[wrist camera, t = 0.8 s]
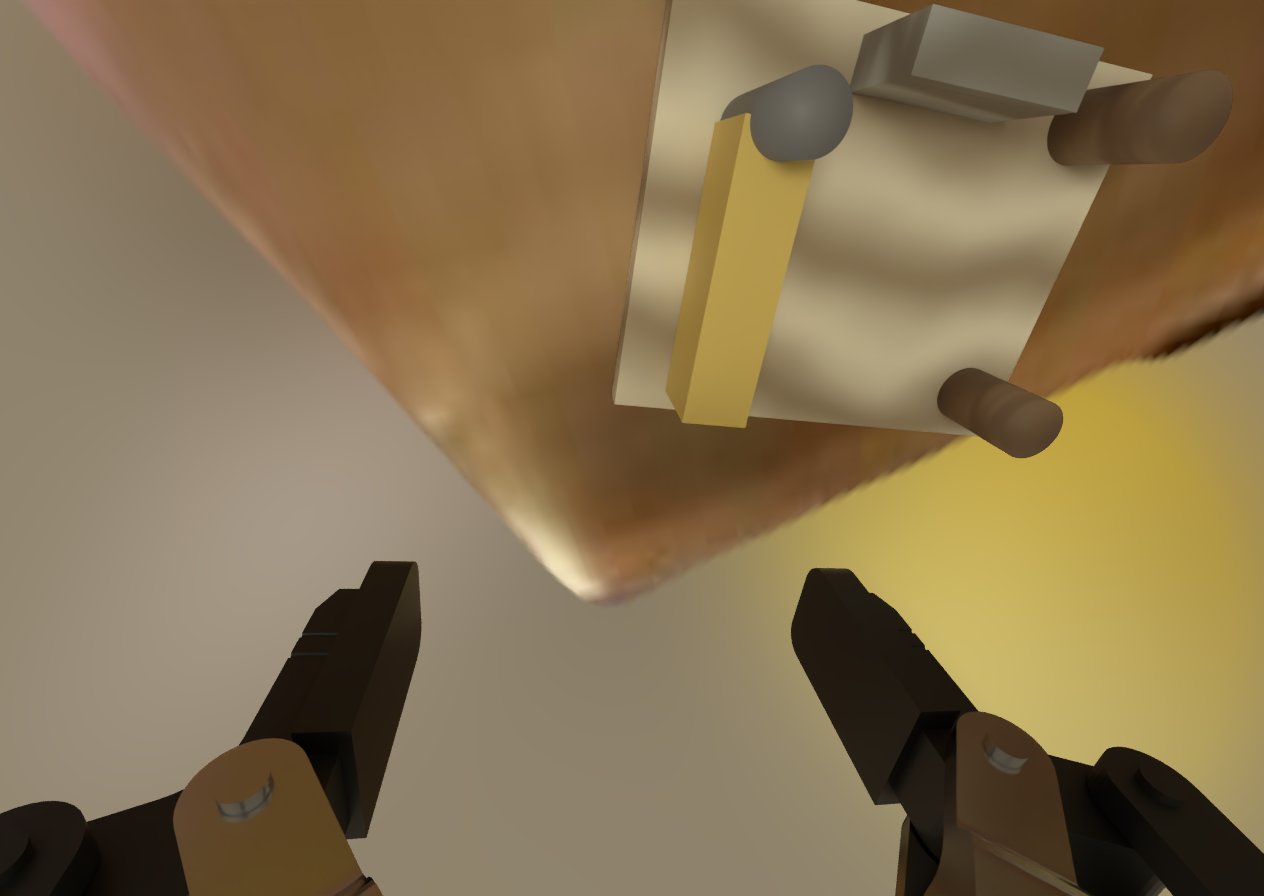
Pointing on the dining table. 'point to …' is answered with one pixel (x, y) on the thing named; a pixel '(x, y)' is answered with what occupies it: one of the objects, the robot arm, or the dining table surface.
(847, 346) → the seat board
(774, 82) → the bar
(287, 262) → the dining table surface
